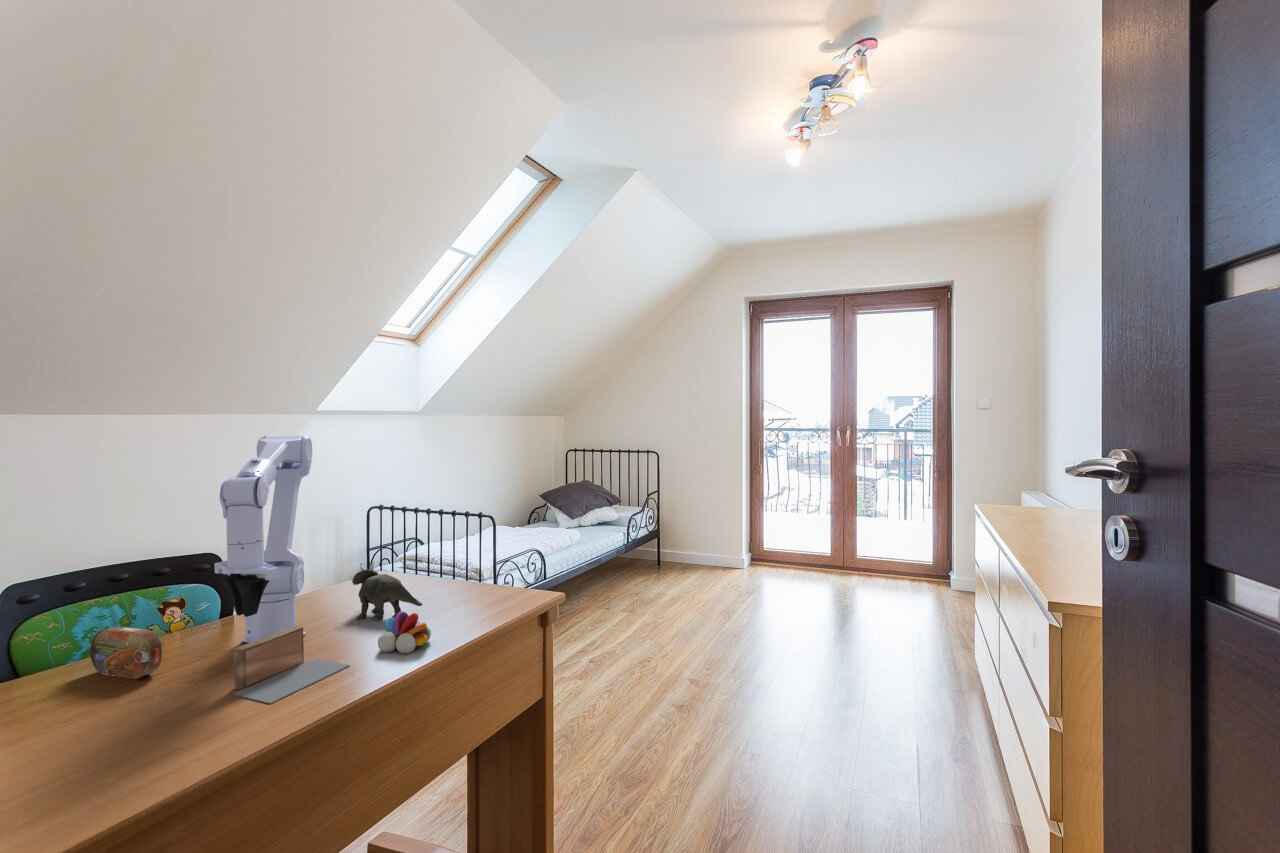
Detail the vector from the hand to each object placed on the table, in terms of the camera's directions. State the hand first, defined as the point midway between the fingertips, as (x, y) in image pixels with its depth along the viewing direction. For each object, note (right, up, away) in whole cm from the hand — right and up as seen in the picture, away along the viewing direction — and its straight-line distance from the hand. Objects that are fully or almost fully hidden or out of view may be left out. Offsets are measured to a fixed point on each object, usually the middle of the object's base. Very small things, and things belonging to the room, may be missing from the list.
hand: (247, 614), depth 112 cm
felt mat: (+11, -10, -4) cm, 16 cm away
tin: (-21, -11, -1) cm, 24 cm away
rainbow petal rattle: (+25, -10, +11) cm, 29 cm away
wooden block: (+6, -11, -2) cm, 12 cm away
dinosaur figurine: (+12, -10, +30) cm, 34 cm away
